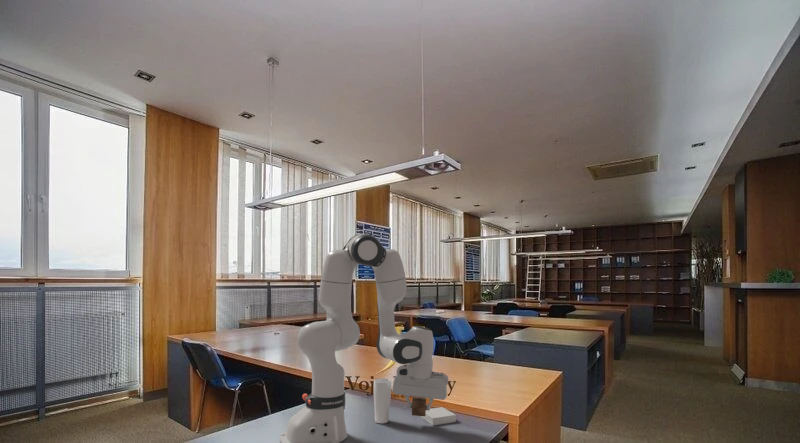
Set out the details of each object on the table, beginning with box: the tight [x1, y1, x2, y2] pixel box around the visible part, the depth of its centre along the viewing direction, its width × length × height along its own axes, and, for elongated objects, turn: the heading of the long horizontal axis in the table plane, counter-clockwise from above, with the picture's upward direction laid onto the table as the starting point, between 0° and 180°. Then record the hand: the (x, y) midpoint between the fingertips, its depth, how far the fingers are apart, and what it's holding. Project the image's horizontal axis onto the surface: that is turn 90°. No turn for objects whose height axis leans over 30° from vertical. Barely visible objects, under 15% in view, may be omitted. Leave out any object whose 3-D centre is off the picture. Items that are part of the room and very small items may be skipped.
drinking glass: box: [373, 377, 392, 425], centre depth 158 cm, size 7×7×15 cm
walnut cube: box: [411, 396, 427, 417], centre depth 154 cm, size 5×5×5 cm
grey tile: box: [419, 406, 457, 426], centre depth 161 cm, size 10×10×2 cm
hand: (418, 408), depth 154 cm, fingers closed on walnut cube, 5 cm apart
